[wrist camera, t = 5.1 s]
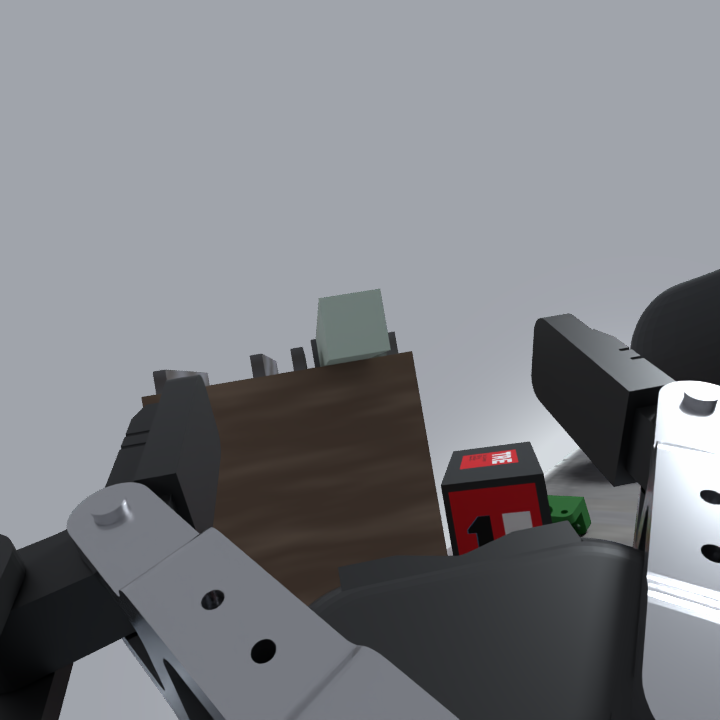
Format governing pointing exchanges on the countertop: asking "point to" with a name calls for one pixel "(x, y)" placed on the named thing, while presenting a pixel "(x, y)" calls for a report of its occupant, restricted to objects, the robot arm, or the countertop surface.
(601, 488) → the countertop surface
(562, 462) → the countertop surface
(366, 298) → the grey-green flat block
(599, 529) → the countertop surface
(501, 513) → the cleaning product box
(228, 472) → the wooden box
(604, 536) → the countertop surface
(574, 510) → the green blocky piece
